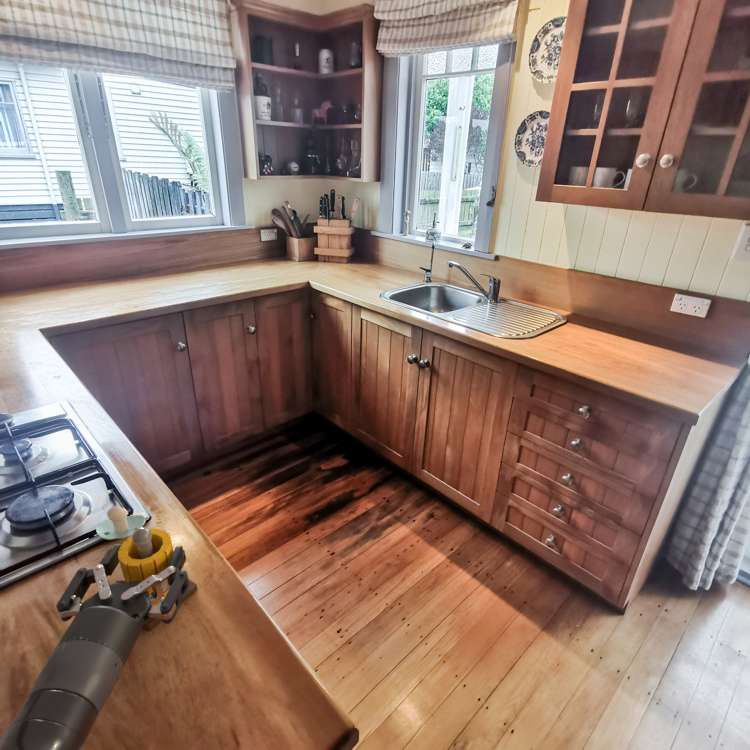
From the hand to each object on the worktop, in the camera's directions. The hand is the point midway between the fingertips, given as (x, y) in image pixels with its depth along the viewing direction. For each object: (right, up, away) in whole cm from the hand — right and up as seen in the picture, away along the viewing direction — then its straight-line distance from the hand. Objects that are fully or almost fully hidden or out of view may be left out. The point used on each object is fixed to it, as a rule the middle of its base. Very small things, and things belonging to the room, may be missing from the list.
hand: (150, 549), depth 66 cm
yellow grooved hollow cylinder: (0, -7, +2) cm, 7 cm away
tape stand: (0, -8, +3) cm, 8 cm away
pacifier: (-11, -2, +14) cm, 18 cm away
